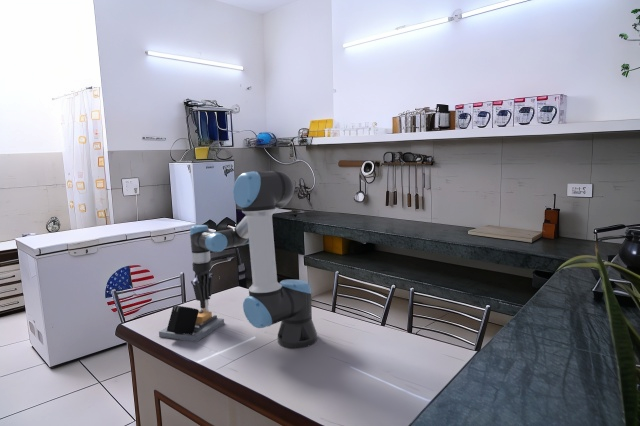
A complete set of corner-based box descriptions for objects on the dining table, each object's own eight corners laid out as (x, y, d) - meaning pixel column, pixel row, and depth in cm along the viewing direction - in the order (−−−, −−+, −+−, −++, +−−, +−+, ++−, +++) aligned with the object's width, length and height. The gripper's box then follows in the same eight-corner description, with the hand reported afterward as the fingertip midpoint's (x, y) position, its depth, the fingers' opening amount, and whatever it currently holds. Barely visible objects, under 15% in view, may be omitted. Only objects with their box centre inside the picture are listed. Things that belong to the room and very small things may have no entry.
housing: (224, 323, 176) (223, 316, 175) (196, 341, 158) (196, 333, 158) (189, 319, 182) (188, 312, 181) (159, 336, 164) (158, 328, 164)
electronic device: (192, 334, 165) (199, 309, 167) (173, 333, 157) (180, 306, 159) (185, 332, 167) (192, 307, 170) (166, 330, 159) (173, 305, 161)
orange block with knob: (212, 318, 176) (211, 310, 175) (202, 324, 170) (202, 315, 169) (196, 316, 178) (195, 308, 178) (186, 322, 172) (186, 314, 172)
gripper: (203, 257, 182) (206, 308, 185) (184, 264, 170) (188, 319, 173) (217, 258, 180) (221, 310, 182) (199, 265, 168) (203, 320, 170)
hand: (205, 314), depth 178 cm, fingers closed
